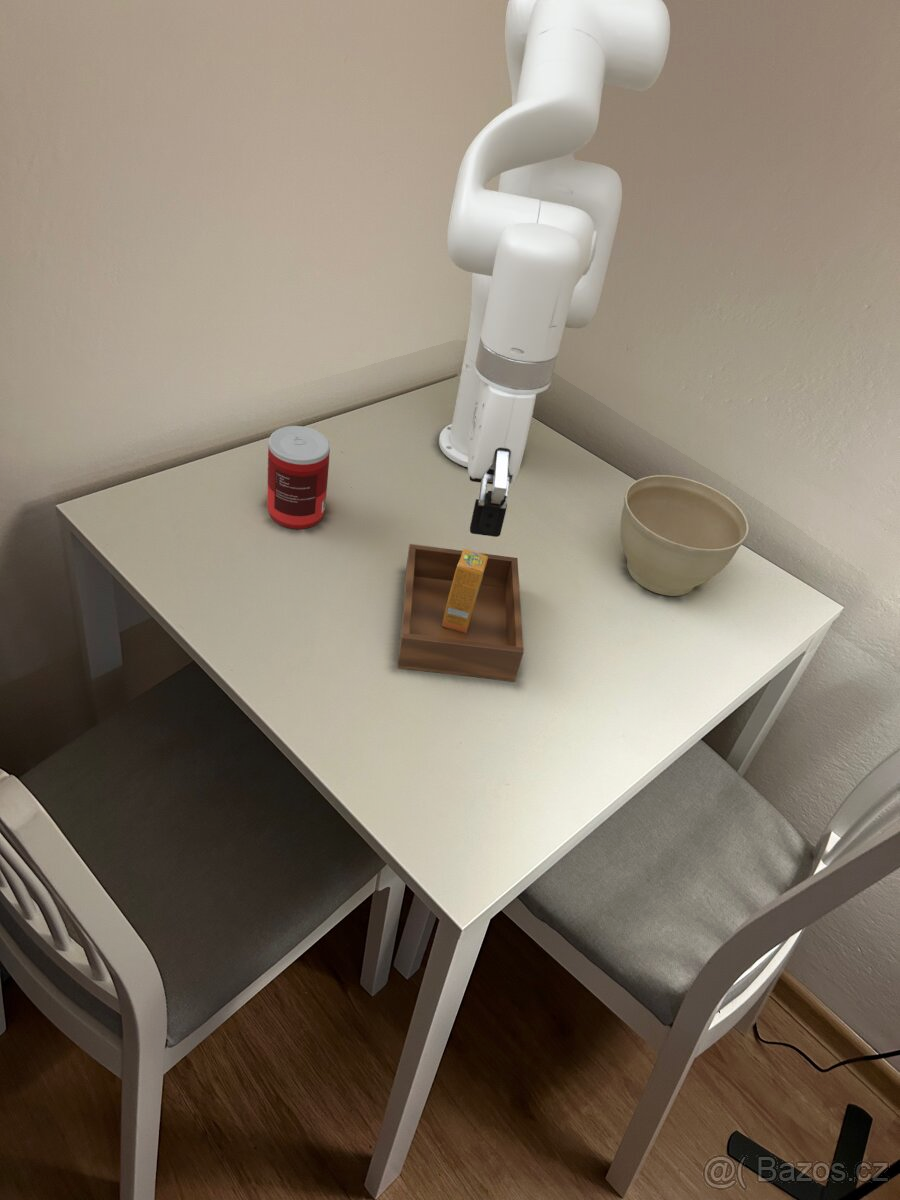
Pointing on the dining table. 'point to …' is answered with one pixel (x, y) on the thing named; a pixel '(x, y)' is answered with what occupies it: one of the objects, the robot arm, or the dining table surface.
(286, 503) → the canned food
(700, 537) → the planter bowl
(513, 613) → the wooden tray
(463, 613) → the supplement box
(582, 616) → the dining table surface
